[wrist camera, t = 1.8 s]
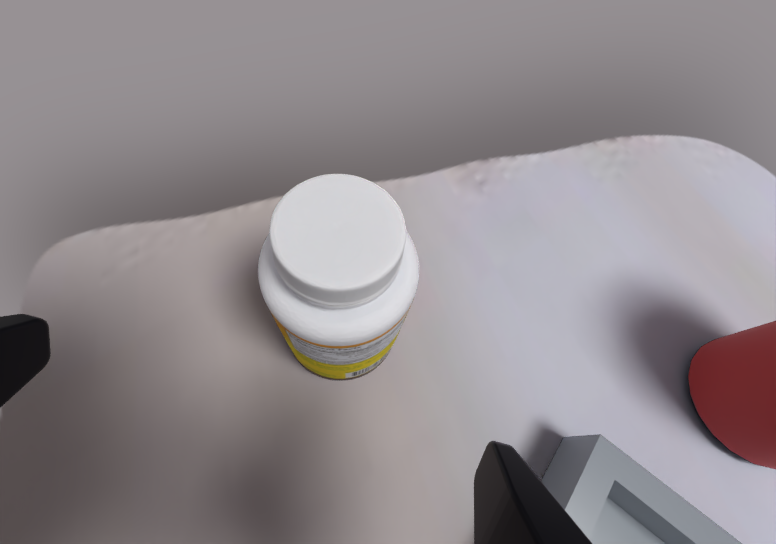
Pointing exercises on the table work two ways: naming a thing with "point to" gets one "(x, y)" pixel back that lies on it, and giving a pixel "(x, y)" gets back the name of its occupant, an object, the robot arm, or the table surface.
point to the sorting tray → (623, 498)
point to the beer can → (739, 392)
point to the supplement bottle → (338, 274)
